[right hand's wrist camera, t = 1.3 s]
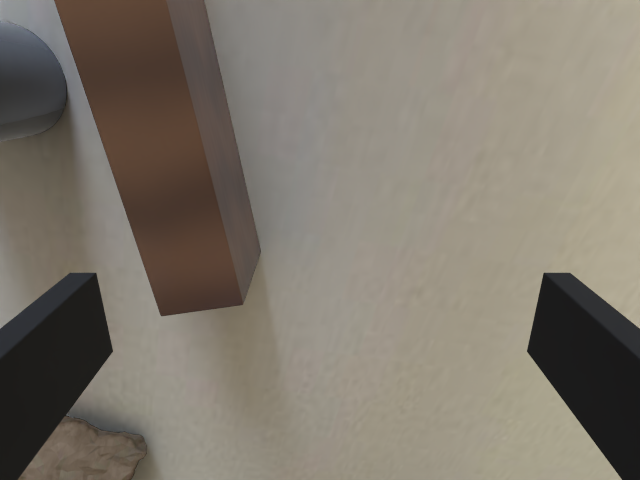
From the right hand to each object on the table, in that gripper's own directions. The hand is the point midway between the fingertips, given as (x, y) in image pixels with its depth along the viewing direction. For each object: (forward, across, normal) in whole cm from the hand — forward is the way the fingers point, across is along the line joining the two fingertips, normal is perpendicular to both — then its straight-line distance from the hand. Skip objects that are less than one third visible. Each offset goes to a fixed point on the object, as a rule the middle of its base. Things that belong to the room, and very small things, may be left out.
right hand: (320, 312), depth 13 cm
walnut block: (+19, +9, -6) cm, 22 cm away
